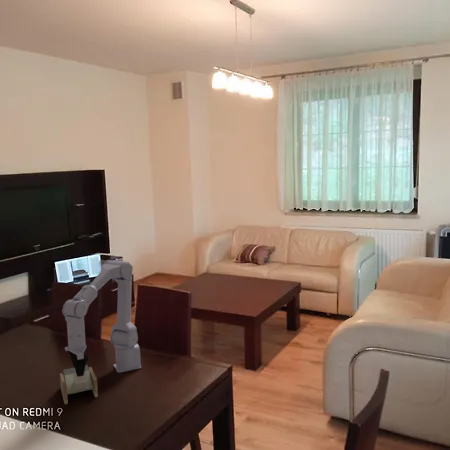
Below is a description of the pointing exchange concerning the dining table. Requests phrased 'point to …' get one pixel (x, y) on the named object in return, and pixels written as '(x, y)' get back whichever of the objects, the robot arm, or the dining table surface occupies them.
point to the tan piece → (64, 386)
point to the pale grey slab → (70, 375)
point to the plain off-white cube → (80, 382)
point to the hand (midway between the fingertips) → (78, 371)
